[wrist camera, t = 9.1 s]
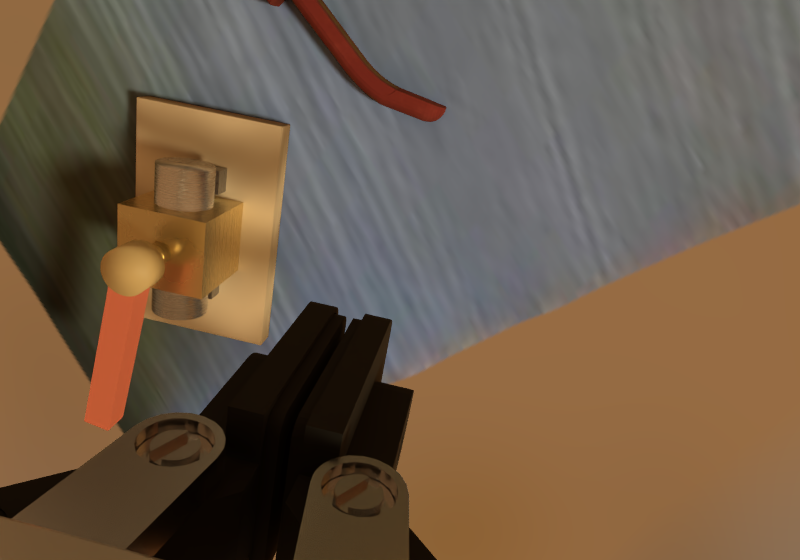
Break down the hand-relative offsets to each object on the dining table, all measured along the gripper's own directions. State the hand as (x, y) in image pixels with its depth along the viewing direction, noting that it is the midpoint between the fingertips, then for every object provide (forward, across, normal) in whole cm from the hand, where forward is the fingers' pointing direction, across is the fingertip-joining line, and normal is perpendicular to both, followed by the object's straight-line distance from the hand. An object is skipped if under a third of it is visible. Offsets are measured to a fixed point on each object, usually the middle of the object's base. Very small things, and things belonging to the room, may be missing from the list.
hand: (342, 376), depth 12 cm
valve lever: (+20, +17, +13) cm, 29 cm away
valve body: (+28, +16, +8) cm, 33 cm away
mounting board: (+29, +16, +8) cm, 34 cm away
